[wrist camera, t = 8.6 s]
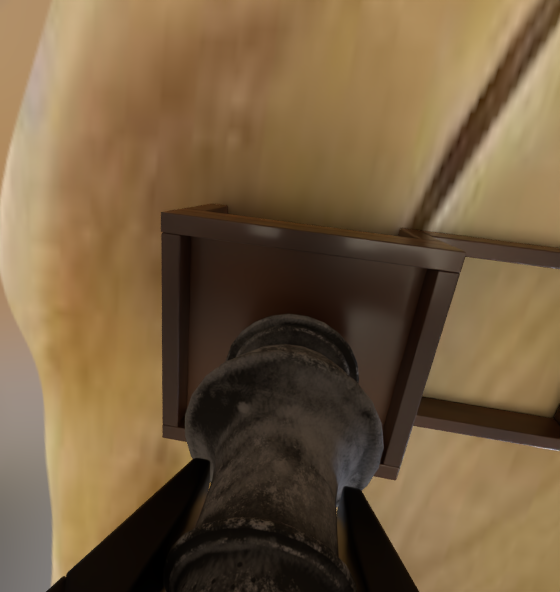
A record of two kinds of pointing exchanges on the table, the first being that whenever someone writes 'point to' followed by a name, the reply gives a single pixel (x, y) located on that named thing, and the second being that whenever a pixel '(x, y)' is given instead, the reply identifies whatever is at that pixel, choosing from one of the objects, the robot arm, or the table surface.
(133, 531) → the robot arm
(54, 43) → the table surface
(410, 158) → the table surface
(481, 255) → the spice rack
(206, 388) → the grey rounded piece
